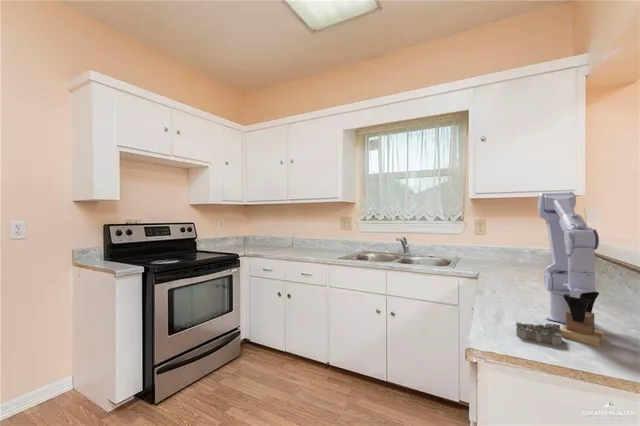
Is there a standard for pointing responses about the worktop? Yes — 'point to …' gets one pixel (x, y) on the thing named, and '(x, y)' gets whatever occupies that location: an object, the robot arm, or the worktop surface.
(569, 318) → the walnut cube
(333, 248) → the worktop surface
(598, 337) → the board
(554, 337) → the egg carton
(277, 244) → the worktop surface
